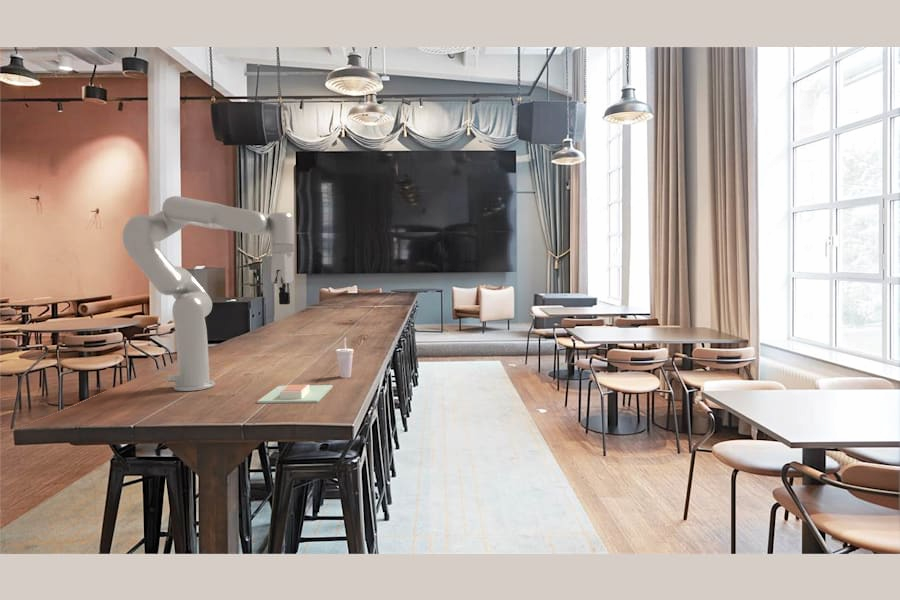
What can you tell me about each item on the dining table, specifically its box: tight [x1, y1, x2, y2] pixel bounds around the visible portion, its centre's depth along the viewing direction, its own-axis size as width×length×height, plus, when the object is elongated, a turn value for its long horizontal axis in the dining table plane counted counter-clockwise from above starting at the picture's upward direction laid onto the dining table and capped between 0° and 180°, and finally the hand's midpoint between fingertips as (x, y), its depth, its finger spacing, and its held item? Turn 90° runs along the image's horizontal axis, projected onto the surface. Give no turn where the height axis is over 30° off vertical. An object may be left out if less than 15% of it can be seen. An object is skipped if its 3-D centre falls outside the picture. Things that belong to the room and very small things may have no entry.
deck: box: [280, 384, 310, 399], centre depth 179 cm, size 6×2×9 cm
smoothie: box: [335, 337, 354, 379], centre depth 207 cm, size 6×6×14 cm
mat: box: [256, 384, 333, 404], centre depth 182 cm, size 18×20×1 cm
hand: (284, 304), depth 197 cm, fingers closed
